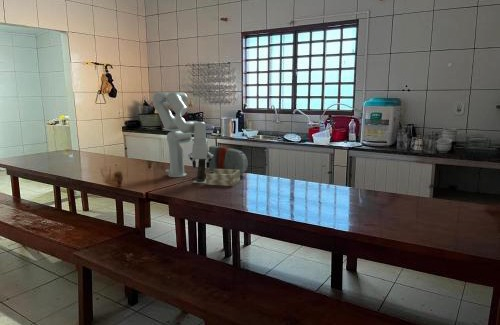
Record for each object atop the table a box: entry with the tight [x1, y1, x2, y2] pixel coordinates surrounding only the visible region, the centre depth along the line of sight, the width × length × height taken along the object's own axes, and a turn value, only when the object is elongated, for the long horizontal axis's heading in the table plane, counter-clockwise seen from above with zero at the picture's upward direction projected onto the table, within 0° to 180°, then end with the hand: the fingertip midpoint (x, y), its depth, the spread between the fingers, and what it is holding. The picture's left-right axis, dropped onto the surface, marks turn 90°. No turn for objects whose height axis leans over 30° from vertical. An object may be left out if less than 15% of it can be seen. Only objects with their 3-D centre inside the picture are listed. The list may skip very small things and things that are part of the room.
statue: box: [194, 159, 206, 182], centre depth 234 cm, size 7×7×20 cm
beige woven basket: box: [205, 169, 241, 187], centre depth 231 cm, size 18×15×7 cm
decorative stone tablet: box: [208, 145, 249, 176], centre depth 252 cm, size 19×6×30 cm
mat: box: [192, 178, 206, 184], centre depth 235 cm, size 9×9×1 cm
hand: (201, 167), depth 234 cm, fingers open, 8 cm apart
